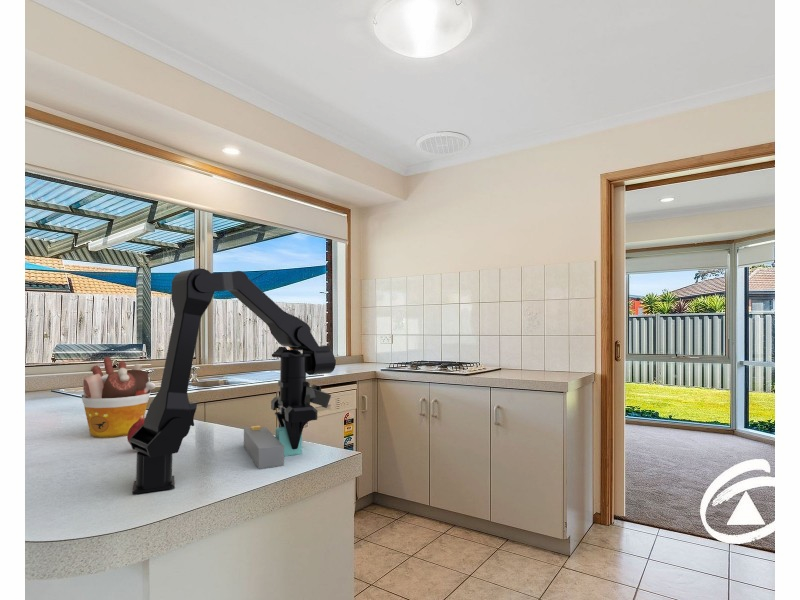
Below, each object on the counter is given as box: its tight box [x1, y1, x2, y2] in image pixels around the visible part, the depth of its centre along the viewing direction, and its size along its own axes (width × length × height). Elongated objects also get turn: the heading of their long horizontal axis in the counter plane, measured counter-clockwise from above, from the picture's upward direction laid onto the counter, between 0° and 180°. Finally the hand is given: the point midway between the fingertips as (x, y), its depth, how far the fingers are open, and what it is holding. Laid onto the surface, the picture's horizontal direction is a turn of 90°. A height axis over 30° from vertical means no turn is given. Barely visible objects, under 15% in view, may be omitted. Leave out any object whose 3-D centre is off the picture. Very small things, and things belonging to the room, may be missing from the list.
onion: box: [126, 415, 146, 446], centre depth 108 cm, size 6×6×8 cm
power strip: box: [243, 425, 285, 470], centre depth 106 cm, size 24×5×5 cm, turn 27°
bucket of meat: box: [81, 356, 157, 439], centre depth 127 cm, size 20×16×20 cm
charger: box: [274, 426, 303, 457], centre depth 105 cm, size 4×7×6 cm, turn 117°
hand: (292, 446), depth 106 cm, fingers closed on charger, 4 cm apart
